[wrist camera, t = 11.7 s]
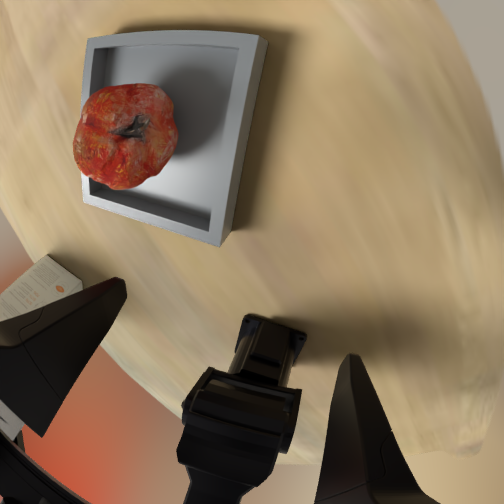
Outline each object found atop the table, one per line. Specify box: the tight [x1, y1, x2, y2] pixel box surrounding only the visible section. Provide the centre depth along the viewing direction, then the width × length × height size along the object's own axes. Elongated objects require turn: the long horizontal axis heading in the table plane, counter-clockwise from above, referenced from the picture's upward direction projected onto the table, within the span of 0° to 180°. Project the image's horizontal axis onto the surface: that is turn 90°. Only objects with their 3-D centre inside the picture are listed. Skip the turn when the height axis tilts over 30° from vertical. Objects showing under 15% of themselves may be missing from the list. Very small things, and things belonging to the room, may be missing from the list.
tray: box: [80, 30, 268, 247], centre depth 19 cm, size 15×14×2 cm
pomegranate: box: [73, 83, 179, 190], centre depth 17 cm, size 7×7×10 cm
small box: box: [0, 255, 83, 321], centre depth 30 cm, size 8×6×13 cm
